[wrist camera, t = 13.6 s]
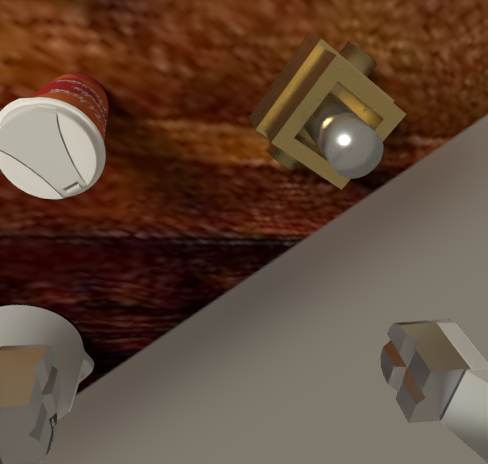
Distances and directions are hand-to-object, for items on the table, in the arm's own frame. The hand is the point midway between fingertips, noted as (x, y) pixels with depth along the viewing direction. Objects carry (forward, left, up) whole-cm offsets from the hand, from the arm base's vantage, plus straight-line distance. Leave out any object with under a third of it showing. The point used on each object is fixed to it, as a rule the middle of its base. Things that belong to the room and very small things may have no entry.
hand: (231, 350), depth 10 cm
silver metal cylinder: (+4, -14, -33) cm, 36 cm away
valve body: (+4, -14, -37) cm, 40 cm away
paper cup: (-9, +6, -37) cm, 39 cm away
